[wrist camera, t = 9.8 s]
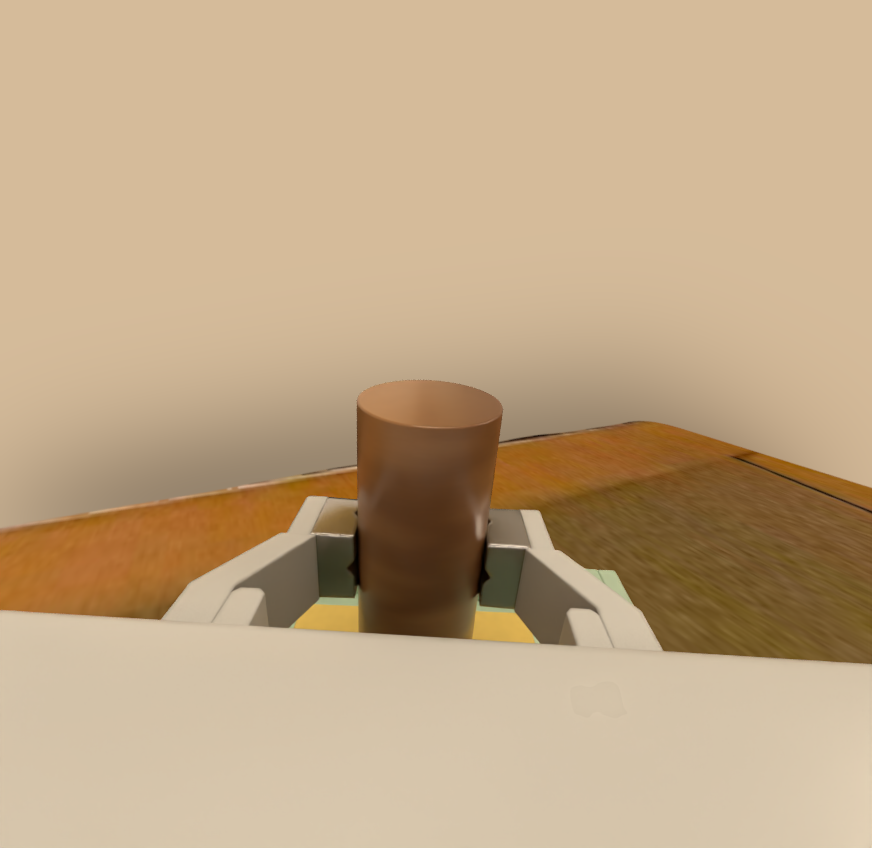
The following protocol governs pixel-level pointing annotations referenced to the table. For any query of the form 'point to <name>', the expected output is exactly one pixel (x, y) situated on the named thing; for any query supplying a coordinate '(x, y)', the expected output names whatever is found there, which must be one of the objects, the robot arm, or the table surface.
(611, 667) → the robot arm
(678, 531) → the table surface
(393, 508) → the brown cylinder on base
